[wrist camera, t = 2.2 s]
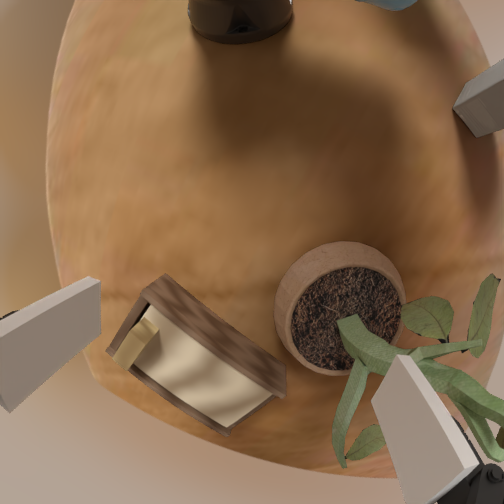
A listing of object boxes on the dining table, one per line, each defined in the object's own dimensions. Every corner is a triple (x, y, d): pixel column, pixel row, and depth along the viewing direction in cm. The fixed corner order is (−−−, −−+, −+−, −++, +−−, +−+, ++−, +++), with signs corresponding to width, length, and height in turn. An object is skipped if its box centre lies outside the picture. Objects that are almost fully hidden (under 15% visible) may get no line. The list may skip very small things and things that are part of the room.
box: (127, 330, 39) (105, 351, 32) (165, 273, 36) (142, 289, 29) (233, 408, 40) (226, 437, 34) (285, 365, 38) (286, 395, 31)
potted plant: (296, 370, 38) (301, 564, 8) (255, 261, 35) (174, 489, 6) (430, 320, 34) (545, 450, 5) (412, 207, 31) (617, 254, 2)
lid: (122, 349, 34) (105, 366, 29) (153, 301, 31) (135, 317, 27) (227, 424, 35) (221, 446, 30) (273, 389, 32) (271, 414, 28)
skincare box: (475, 139, 27) (544, 125, 12) (447, 104, 27) (512, 74, 12) (489, 109, 26) (550, 91, 10) (463, 77, 25) (520, 46, 10)
